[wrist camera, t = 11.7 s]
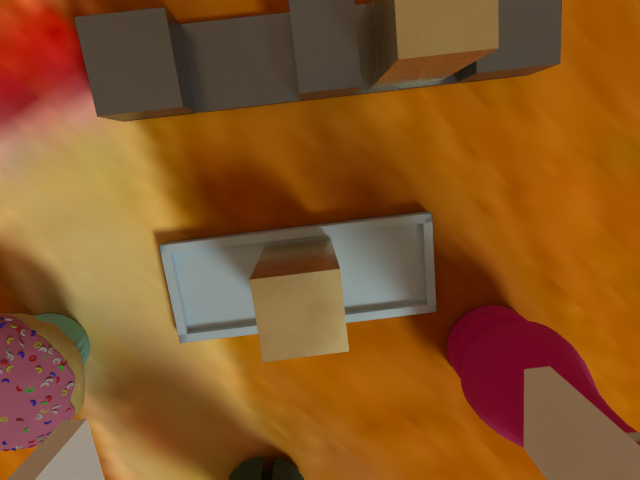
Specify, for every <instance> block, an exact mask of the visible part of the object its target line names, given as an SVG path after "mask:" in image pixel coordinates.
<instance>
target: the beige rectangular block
mask: <svg viewBox="0 0 640 480" xmlns="http://www.w3.org/2000/svg"><path fill="white" fill-rule="evenodd" d="M249 281H250V287H251V293H252V299H253V305H254V311H255V317H256V324H257V330H258V336H259V342H260V348H261V354H262V360H263V362H267V361H275V360H283V359H291V358H299V357H307V356H315V355H324V354H332V353H340V352H348V351H349V347H348V337H347V328H346V318H345V309H344V299H343V290H342V280H341V271H340V266H339V263H338V260H337V257H336V254H335V250H334V247H333V244H332V241H331V239H323V240H315V241H306V242H298V243H290V244H281V245H273V246H265V247H264V249H263V251H262V253H261V255H260V258H259V260H258V262H257V264H256V266H255V269H254V271H253V273H252V275H251V277H250V279H249Z"/></svg>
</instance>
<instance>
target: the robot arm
mask: <svg viewBox="0 0 640 480" xmlns="http://www.w3.org/2000/svg"><path fill="white" fill-rule="evenodd" d="M524 449H525V450H526V452H527V453H528V455H529V456H530V457H531V459H532V460H533V461H534V463H535V464H536V466H537V467H538V468H539V470H540V471H541V472H542V474H543V475H544V477H545V478H546V479H547V480H640V445H638V444H637V443H636V442H635V441H634V440H633V439H632V438H631V437H629V436H628V435H627V434H626V433H625V432H624V431H623V430H621V429H620V428H619V427H618V426H617V425H616V424H615V423H614V422H612V421H611V420H610V419H609V418H608V417H607V416H606V415H604V414H603V413H602V412H601V411H600V410H599V409H598V408H597V407H595V406H594V405H593V404H592V403H591V402H590V401H589V400H587V399H586V398H585V397H584V396H583V395H582V394H581V393H580V392H578V391H577V390H576V389H575V388H574V387H573V386H572V385H570V384H569V383H568V382H567V381H566V380H565V379H564V378H563V377H561V376H560V375H559V374H558V373H557V372H556V371H555V370H553V369H552V368H551V367H550V366H549V367H540V368H531V369H524ZM7 480H104V476H103V473H102V469H101V466H100V462H99V459H98V455H97V452H96V448H95V445H94V441H93V438H92V434H91V431H90V427H89V424H88V421H87V419H81V420H73V421H64V422H61V423H60V424H59V425H58V426H57V427H56V428H55V429H54V430H53V431H52V433H51V434H50V435H49V436H48V437H47V438H46V439H45V440H44V441H43V442H42V443H41V444H40V445H39V446H38V447H37V448H36V449H35V451H34V452H33V453H32V454H31V455H30V456H29V457H28V458H27V459H26V460H25V461H24V462H23V463H22V464H21V465H20V466H19V467H18V469H17V470H16V471H15V472H14V473H13V474H12V475H11V476H10V477H9V478H8V479H7Z"/></svg>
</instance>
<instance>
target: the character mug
mask: <svg viewBox="0 0 640 480" xmlns="http://www.w3.org/2000/svg"><path fill="white" fill-rule="evenodd" d="M262 466H263V457H257V458H254V459H251V460H248V461H246V462H243V463H242V464H241V465H240V466H239V467H238V468H236V469H235V470H234V471H233V472H232V473H231V474H230V477H229V480H304V478H303V477H302V475H301V474H300V473H299V471H298V470H297V469H296V468H295V466H294V465H292V464H290V463H288V462H286V461H284V460H282V459H280V458H275V461H274V467H273V471H270V470H265V471H262Z"/></svg>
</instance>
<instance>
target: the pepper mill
mask: <svg viewBox="0 0 640 480" xmlns="http://www.w3.org/2000/svg"><path fill="white" fill-rule="evenodd" d="M447 356H448V359H449V362H450V364H451V366H452V367H453V369H454V370H455V371H456V373H457V374H458V376H459V377H460V378H461V386H462V389H463V392H464V395H465V397H466V400H467V402H468V403H469V405H470V406H471V407H472V409H473V410H474V411H475V412H476V413H477V415H478V416H479V417H480V418H481V419H482V420H483V421H484V422H485V423H486V424H487V425H488V426H490V427H491V428H492V429H493V430H495V431H496V432H497V433H499V434H500V435H501V436H503V437H505V438H506V439H508V440H510V441H512V442H514V443H516V444H517V445H519V446H521V447H523V448H524V369H531V368H540V367H549V366H550V367H551V368H552V369H553V370H555V371H556V372H557V373H558V374H559V375H560V376H561V377H563V378H564V379H565V380H566V381H567V382H568V383H569V384H570V385H572V386H573V387H574V388H575V389H576V390H577V391H578V392H580V393H581V394H582V395H583V396H584V397H585V398H586V399H587V400H589V401H590V402H591V403H592V404H593V405H594V406H595V407H597V408H598V409H599V410H600V411H601V412H602V413H603V414H604V415H606V416H607V417H608V418H609V419H610V420H611V421H612V422H614V423H615V424H616V425H617V426H618V427H619V428H620V429H621V430H623V431H624V432H625V433H626V434H627V435H628V436H629V437H631V438H632V439H633V440H634V441H635V442H636V443H637V444H638V445H640V433H638V432H637V431H636V430H634V429H633V428H631V427H630V426H629V425H627V424H626V423H625V422H624V421H623V420H622V419H621V418H620V417H619V416H618V415H617V414H616V413H615V412H614V411H613V410H612V409H611V408H610V407H609V406H608V405H607V403H606V402H605V401H604V399H603V398H602V397H601V395H600V394H599V392H598V390H597V388H596V386H595V384H594V381H593V379H592V377H591V374H590V372H589V370H588V368H587V366H586V364H585V362H584V361H583V359H582V358H581V357H580V355H579V354H578V352H577V351H576V350H575V349H574V347H573V346H572V345H571V344H570V343H569V342H568V341H566V340H565V339H564V338H563V337H562V336H561V335H559V334H558V333H557V332H555V331H554V330H552V329H550V328H549V327H547V326H545V325H542V324H539V323H536V322H530V321H527V320H526V319H525V318H523V317H522V316H520V315H519V314H518V313H516V312H515V311H513V310H511V309H509V308H506V307H503V306H499V305H487V306H482V307H478V308H476V309H473V310H471V311H469V312H467V313H466V314H465V315H463V316H462V317H461V318H460V319H459V320H458V321H457V322H456V323H455V325H454V326H453V328H452V329H451V331H450V334H449V337H448V340H447Z"/></svg>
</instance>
